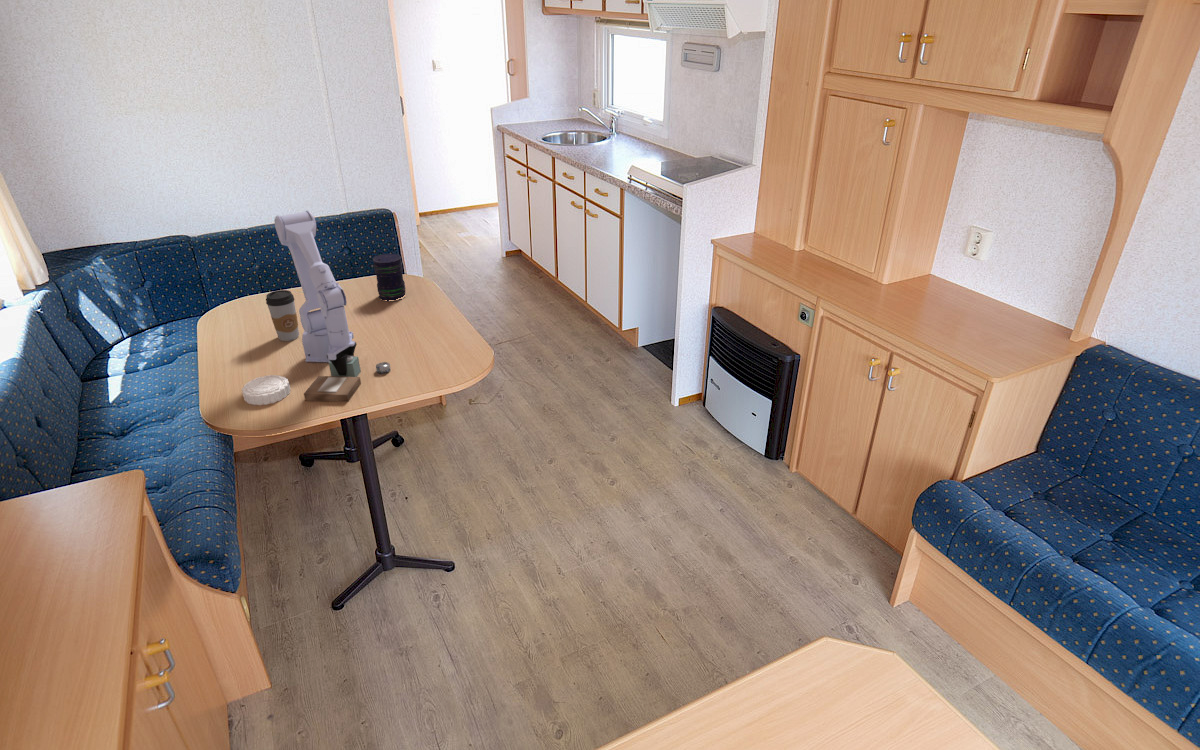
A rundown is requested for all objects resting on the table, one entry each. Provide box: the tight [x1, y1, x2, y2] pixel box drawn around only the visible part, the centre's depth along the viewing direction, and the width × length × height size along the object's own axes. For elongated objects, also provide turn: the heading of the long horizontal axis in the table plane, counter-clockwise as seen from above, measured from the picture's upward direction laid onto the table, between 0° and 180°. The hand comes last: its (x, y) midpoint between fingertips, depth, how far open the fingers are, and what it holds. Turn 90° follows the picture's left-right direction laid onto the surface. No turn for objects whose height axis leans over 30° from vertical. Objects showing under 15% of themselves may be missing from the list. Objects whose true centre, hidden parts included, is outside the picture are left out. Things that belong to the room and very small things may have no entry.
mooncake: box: [241, 374, 292, 406], centre depth 191 cm, size 12×12×4 cm
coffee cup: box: [265, 289, 300, 342], centre depth 220 cm, size 8×8×15 cm
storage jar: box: [372, 253, 406, 302], centre depth 250 cm, size 10×10×15 cm
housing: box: [328, 355, 362, 377], centre depth 200 cm, size 7×4×6 cm, turn 88°
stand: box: [303, 375, 362, 402], centre depth 192 cm, size 12×10×2 cm
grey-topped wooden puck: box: [375, 361, 391, 375], centre depth 203 cm, size 4×4×2 cm
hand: (346, 370), depth 201 cm, fingers closed on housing, 4 cm apart
